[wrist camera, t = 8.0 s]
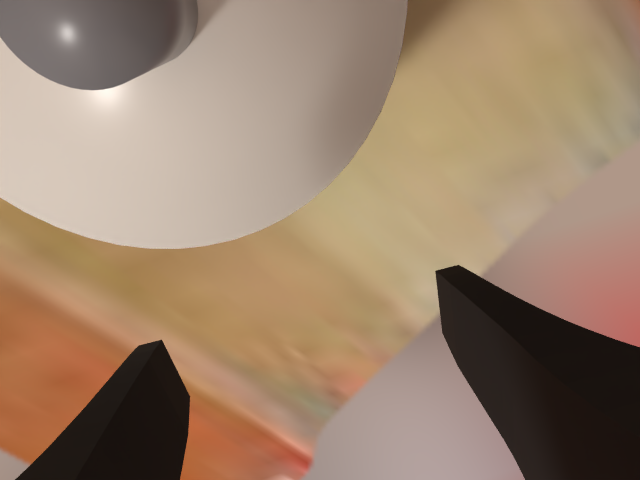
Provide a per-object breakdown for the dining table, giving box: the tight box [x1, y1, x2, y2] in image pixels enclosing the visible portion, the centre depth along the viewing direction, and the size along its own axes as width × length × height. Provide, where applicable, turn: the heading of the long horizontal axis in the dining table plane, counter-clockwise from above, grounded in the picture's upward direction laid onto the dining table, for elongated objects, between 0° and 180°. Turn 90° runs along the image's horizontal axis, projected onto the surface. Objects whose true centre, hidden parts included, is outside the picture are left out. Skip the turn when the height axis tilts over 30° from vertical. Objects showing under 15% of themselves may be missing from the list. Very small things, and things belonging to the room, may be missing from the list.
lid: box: [0, 0, 408, 249], centre depth 10 cm, size 15×15×6 cm
